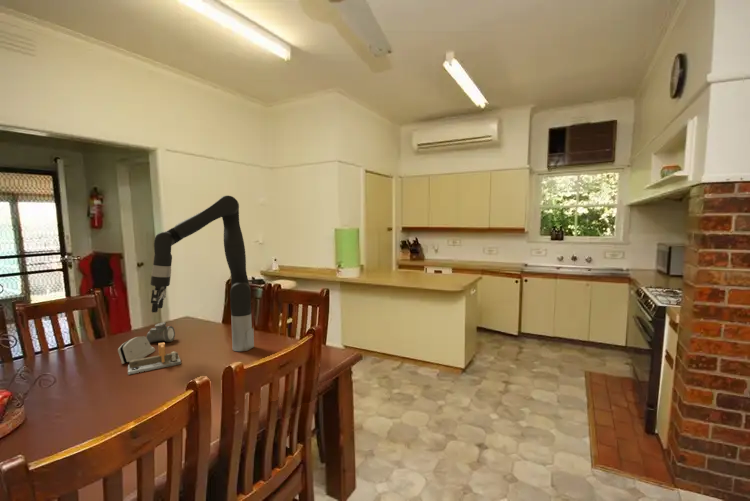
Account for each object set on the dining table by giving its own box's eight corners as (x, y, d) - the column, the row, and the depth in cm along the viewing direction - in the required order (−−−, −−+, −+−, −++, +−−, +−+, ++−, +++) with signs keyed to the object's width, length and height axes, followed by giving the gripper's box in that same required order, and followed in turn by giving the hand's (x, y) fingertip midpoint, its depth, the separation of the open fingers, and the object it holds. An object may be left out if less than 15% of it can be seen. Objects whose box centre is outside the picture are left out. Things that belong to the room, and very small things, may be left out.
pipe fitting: (177, 337, 188) (173, 319, 186) (169, 343, 180) (165, 325, 178) (154, 340, 187) (150, 322, 185) (146, 347, 179) (141, 328, 177)
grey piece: (178, 357, 159) (178, 346, 159) (181, 364, 152) (180, 352, 152) (128, 367, 149) (127, 355, 148) (128, 374, 141) (127, 362, 141)
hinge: (133, 363, 153) (124, 343, 152) (123, 367, 153) (114, 346, 152) (156, 350, 170) (148, 331, 169) (147, 353, 170) (139, 334, 169)
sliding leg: (165, 357, 156) (164, 342, 156) (166, 361, 150) (165, 346, 150) (159, 358, 155) (158, 343, 154) (160, 363, 149) (159, 347, 149)
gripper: (166, 278, 152) (162, 314, 153) (174, 273, 166) (170, 307, 166) (147, 276, 150) (142, 313, 150) (156, 272, 163) (152, 306, 164)
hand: (157, 310), depth 158 cm, fingers open, 8 cm apart
